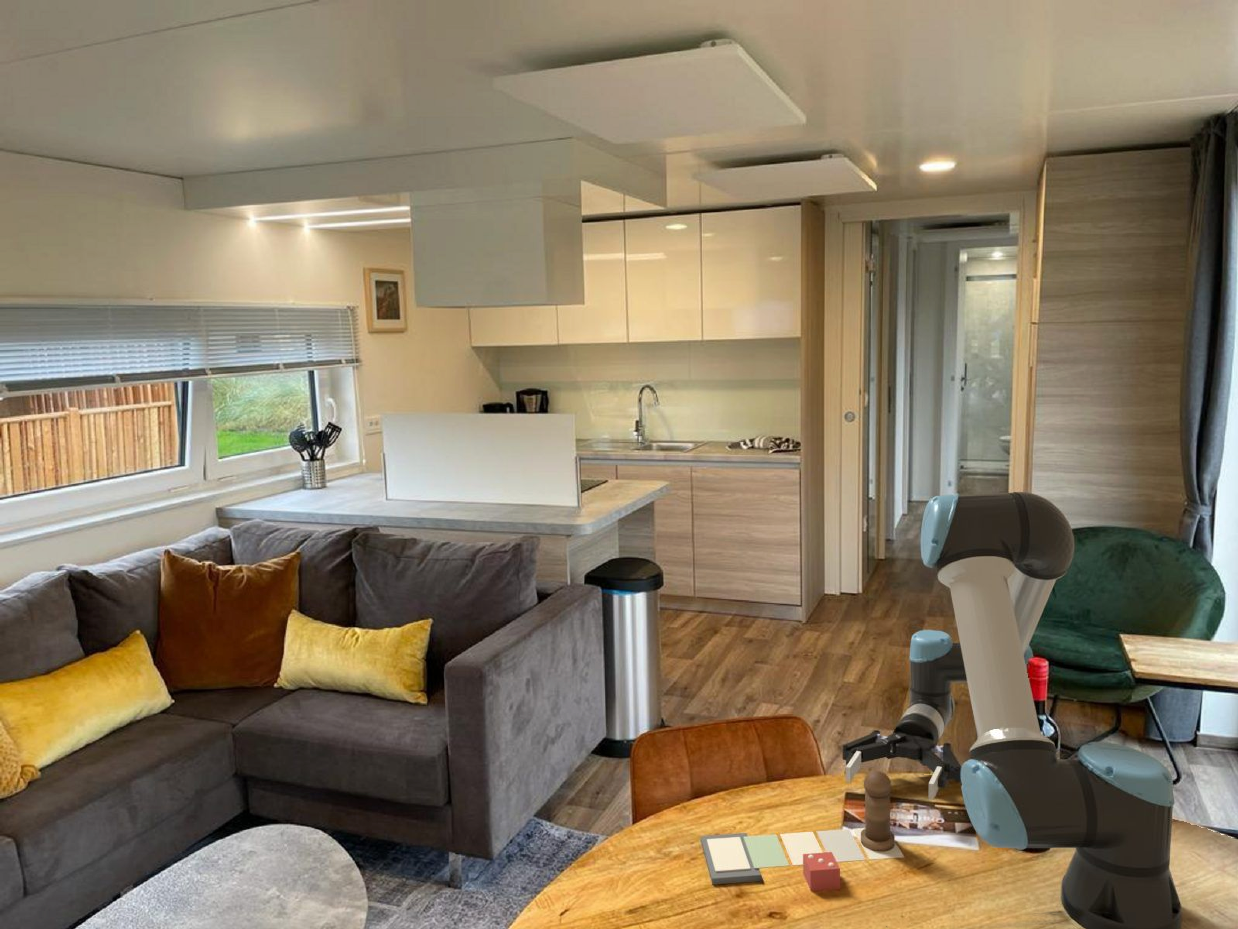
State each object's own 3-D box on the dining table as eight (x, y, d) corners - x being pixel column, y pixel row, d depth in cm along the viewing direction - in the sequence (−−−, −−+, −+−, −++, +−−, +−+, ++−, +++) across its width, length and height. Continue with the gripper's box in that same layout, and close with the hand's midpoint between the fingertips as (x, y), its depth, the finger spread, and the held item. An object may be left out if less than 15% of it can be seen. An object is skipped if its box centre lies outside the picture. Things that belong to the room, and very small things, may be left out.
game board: (912, 869, 147) (912, 862, 147) (712, 884, 146) (711, 877, 146) (886, 828, 159) (886, 821, 159) (700, 841, 158) (700, 834, 158)
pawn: (899, 850, 151) (899, 779, 149) (866, 852, 150) (866, 781, 148) (888, 832, 156) (888, 763, 154) (856, 835, 155) (856, 766, 154)
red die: (840, 896, 142) (839, 866, 141) (810, 898, 141) (810, 868, 141) (831, 878, 146) (831, 850, 145) (803, 881, 146) (802, 852, 145)
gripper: (989, 764, 171) (967, 821, 153) (851, 739, 184) (815, 788, 166) (990, 725, 170) (968, 777, 152) (851, 701, 183) (815, 747, 164)
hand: (888, 783), depth 159 cm, fingers open, 13 cm apart
